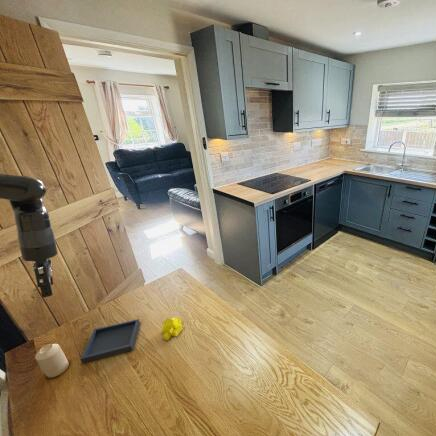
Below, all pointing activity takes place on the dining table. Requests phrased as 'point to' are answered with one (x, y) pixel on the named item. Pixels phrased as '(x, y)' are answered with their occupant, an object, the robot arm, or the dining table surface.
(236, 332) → the dining table surface
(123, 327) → the tray
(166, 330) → the crumpled paper
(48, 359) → the candle
